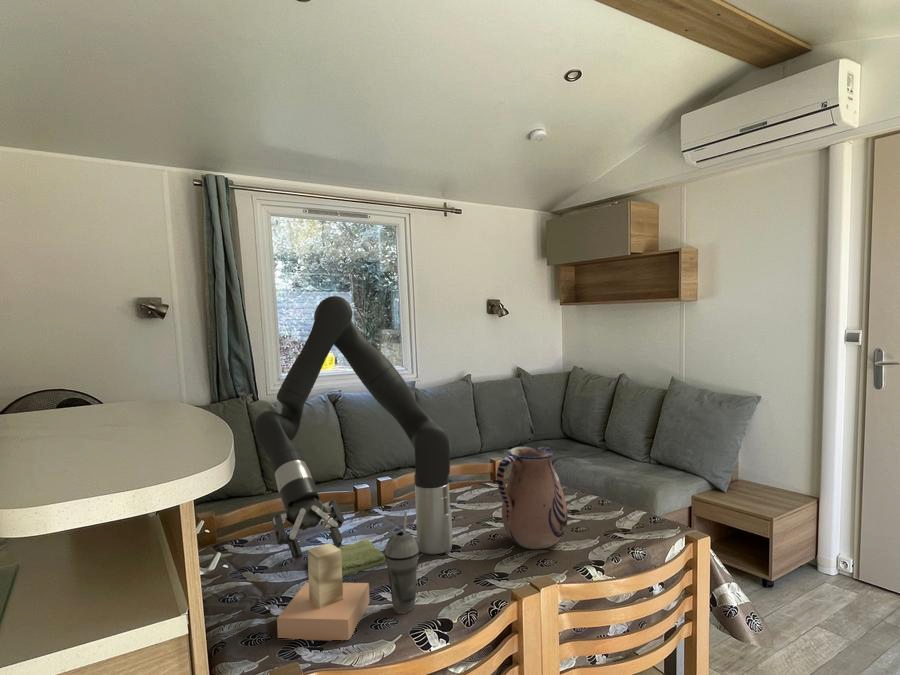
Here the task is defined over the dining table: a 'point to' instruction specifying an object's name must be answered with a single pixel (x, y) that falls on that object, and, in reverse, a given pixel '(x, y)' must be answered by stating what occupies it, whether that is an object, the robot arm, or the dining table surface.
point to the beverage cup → (402, 569)
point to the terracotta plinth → (324, 615)
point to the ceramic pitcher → (532, 498)
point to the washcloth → (360, 557)
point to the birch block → (325, 575)
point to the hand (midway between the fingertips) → (319, 552)
